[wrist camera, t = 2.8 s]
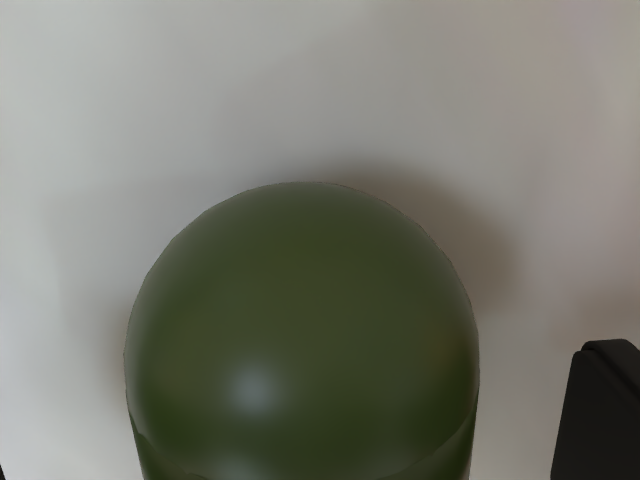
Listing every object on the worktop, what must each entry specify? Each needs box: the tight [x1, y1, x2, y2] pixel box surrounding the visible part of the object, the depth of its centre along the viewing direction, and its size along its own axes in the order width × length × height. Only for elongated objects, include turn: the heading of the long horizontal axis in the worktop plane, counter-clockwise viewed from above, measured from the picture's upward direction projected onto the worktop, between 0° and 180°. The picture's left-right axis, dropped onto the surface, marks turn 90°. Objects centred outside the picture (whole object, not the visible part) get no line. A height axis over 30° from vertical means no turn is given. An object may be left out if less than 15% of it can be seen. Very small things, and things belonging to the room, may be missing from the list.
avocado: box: [123, 182, 480, 480], centre depth 9 cm, size 8×5×5 cm
